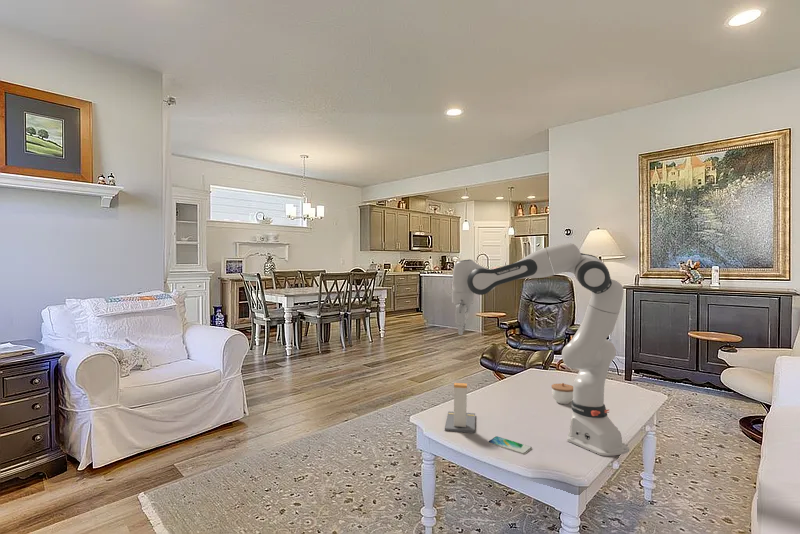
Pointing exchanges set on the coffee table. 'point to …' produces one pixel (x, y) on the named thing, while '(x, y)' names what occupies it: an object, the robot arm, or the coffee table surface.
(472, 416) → the board
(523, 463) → the coffee table surface
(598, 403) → the robot arm
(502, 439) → the smartphone
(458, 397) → the fader tab
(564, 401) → the lidded jar
